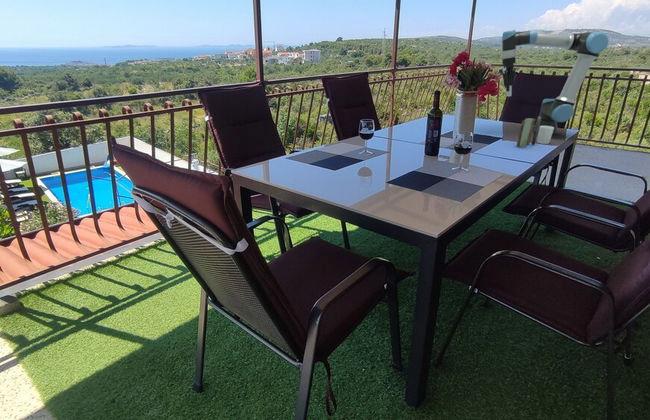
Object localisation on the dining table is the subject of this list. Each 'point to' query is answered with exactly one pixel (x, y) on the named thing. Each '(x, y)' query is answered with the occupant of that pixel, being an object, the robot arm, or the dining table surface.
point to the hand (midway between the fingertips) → (508, 96)
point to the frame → (526, 132)
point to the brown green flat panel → (529, 132)
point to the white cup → (545, 134)
